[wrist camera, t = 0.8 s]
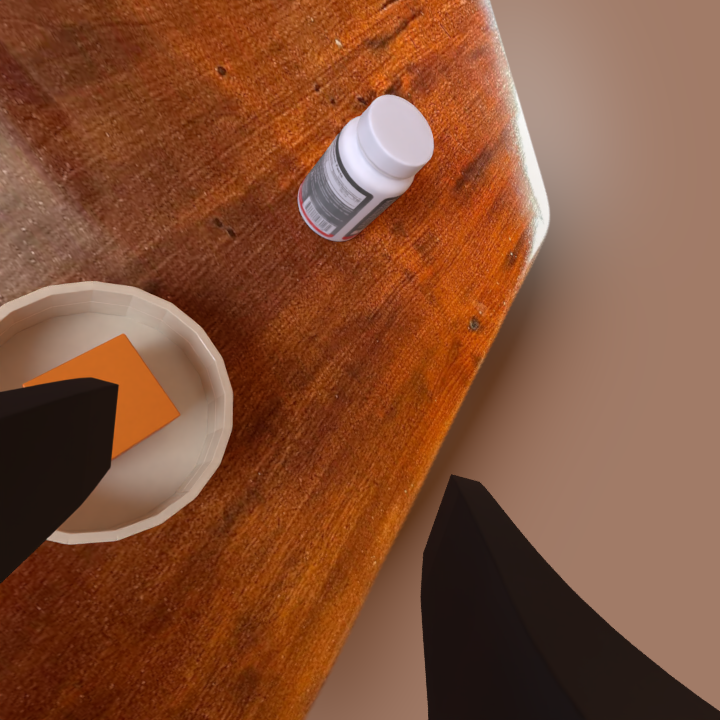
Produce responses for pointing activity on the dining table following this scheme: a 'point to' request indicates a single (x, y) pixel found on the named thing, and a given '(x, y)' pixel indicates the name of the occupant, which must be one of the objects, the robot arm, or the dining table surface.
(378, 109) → the pill bottle
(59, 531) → the bowl
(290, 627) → the dining table surface
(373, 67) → the dining table surface
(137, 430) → the block
